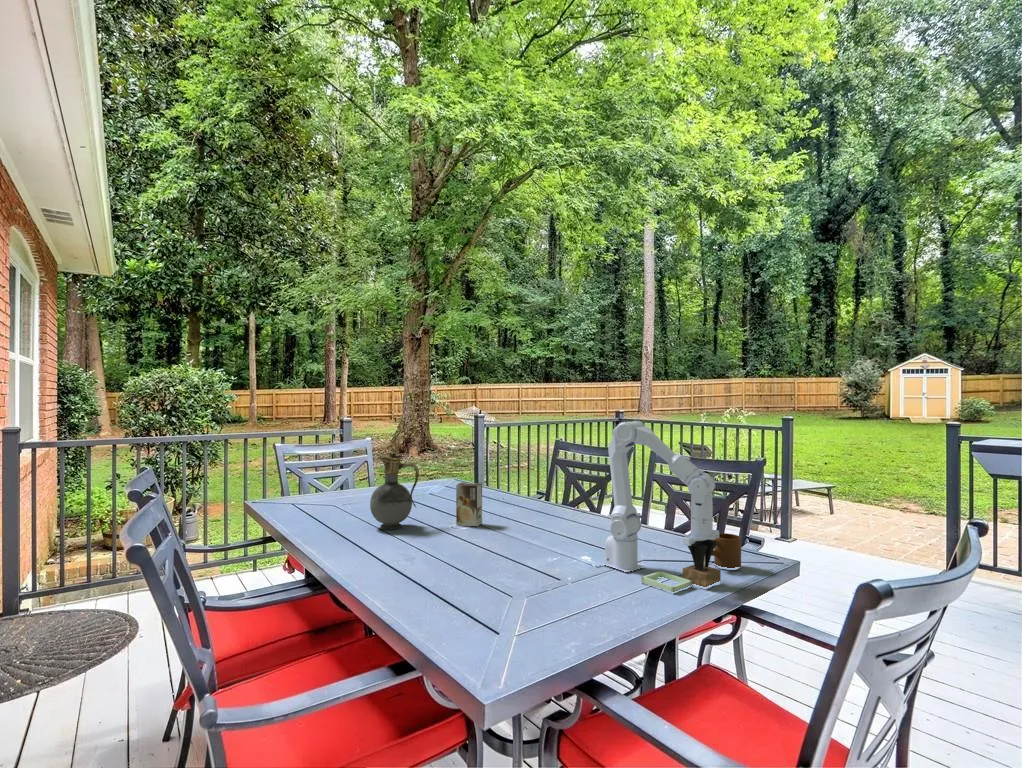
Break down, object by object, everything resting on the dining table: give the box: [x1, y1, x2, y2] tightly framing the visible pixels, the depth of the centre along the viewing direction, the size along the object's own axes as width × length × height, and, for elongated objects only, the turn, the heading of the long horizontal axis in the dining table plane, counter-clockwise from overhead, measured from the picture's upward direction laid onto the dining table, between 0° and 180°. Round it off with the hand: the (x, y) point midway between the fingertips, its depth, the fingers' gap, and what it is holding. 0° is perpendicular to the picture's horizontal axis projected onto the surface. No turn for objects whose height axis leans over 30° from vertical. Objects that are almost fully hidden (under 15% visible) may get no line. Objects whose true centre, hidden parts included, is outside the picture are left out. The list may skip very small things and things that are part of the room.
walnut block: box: [682, 564, 722, 587], centre depth 156 cm, size 7×7×4 cm
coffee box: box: [455, 482, 483, 527], centre depth 223 cm, size 9×6×16 cm
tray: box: [640, 570, 692, 592], centre depth 155 cm, size 10×8×2 cm
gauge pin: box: [698, 557, 705, 572], centre depth 156 cm, size 2×2×8 cm
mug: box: [711, 532, 742, 568], centre depth 170 cm, size 12×8×9 cm, turn 114°
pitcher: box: [369, 448, 420, 530], centre depth 218 cm, size 11×19×30 cm, turn 121°
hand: (701, 567), depth 156 cm, fingers closed on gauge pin, 2 cm apart
